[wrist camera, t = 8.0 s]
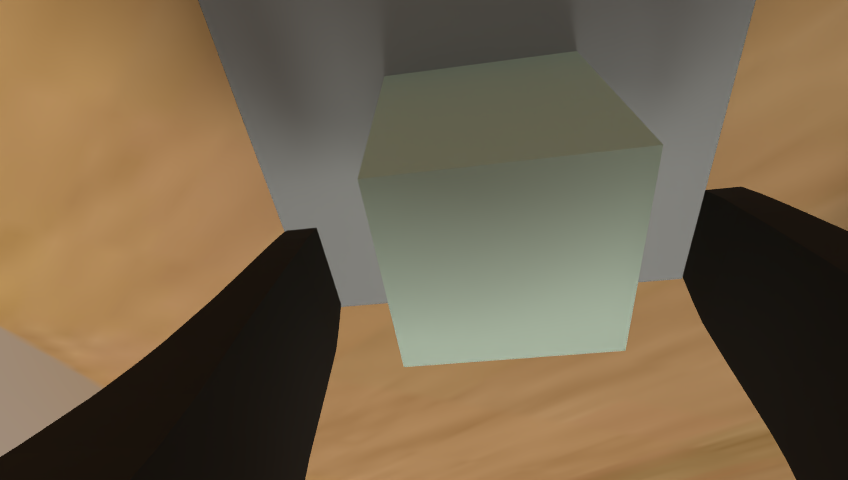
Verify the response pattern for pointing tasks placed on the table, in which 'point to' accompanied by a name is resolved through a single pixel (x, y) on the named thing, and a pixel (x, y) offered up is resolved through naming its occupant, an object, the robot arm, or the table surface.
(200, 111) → the table surface
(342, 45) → the slate plinth
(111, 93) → the table surface
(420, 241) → the sage cube
